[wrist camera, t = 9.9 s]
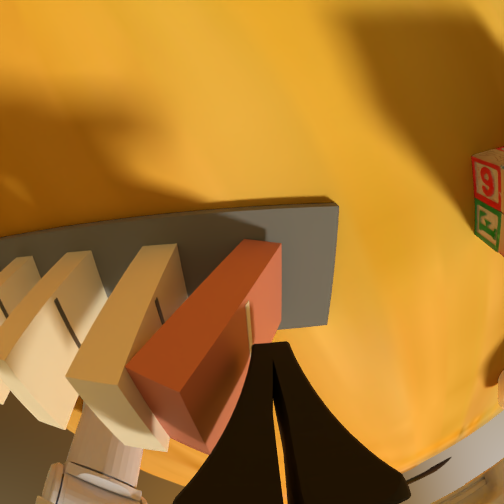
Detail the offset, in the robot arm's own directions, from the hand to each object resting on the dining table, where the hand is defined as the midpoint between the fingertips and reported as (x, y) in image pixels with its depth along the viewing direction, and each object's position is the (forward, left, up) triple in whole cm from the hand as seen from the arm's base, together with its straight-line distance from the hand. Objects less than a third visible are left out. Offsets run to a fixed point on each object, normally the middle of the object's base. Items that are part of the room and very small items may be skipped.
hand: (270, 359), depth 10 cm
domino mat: (-5, +8, -6) cm, 12 cm away
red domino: (0, 0, -6) cm, 6 cm away
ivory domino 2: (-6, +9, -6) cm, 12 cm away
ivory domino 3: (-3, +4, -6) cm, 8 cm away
